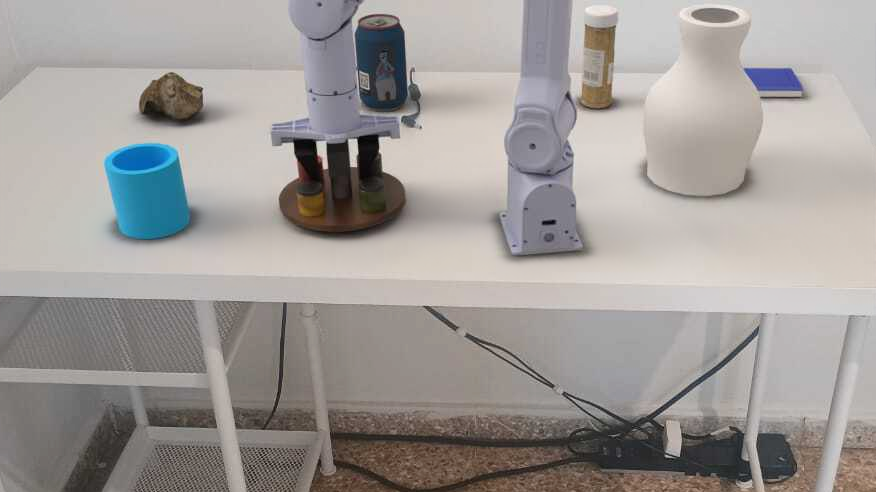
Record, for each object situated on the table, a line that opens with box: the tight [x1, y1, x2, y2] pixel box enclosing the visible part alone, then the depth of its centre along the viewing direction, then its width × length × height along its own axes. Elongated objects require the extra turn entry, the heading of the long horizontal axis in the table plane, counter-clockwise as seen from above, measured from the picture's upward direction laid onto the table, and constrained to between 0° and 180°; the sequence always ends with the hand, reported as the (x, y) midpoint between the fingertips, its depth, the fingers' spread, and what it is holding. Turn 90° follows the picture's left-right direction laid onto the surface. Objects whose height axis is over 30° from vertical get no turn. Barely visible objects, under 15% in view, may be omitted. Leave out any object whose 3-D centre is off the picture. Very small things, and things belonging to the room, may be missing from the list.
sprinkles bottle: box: [580, 4, 619, 109], centre depth 144 cm, size 5×5×14 cm
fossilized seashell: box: [138, 71, 204, 122], centre depth 146 cm, size 8×7×10 cm
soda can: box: [354, 13, 409, 112], centre depth 146 cm, size 7×7×12 cm
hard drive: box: [743, 67, 804, 98], centre depth 152 cm, size 2×8×12 cm
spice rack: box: [278, 139, 407, 233], centre depth 121 cm, size 15×15×8 cm
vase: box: [642, 3, 764, 197], centre depth 124 cm, size 14×14×20 cm
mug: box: [103, 142, 191, 240], centre depth 121 cm, size 12×8×8 cm
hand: (341, 196), depth 123 cm, fingers closed on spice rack, 4 cm apart
